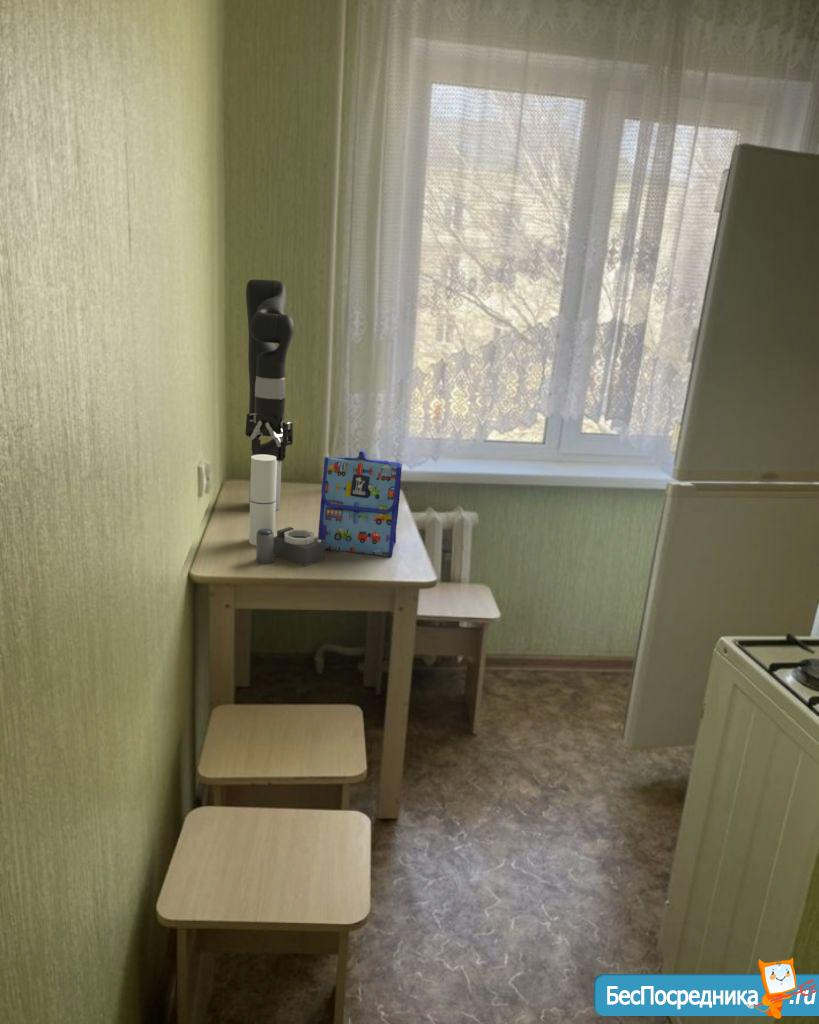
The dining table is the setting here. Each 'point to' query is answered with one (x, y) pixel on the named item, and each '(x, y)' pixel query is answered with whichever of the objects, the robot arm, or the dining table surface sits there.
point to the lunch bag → (359, 504)
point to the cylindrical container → (262, 494)
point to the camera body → (298, 546)
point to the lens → (264, 546)
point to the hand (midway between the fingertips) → (268, 457)
